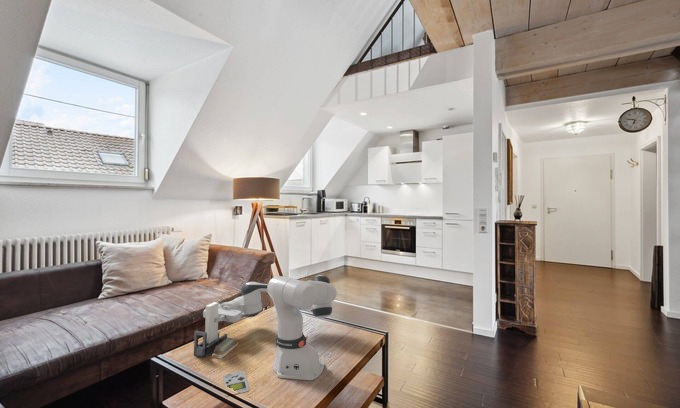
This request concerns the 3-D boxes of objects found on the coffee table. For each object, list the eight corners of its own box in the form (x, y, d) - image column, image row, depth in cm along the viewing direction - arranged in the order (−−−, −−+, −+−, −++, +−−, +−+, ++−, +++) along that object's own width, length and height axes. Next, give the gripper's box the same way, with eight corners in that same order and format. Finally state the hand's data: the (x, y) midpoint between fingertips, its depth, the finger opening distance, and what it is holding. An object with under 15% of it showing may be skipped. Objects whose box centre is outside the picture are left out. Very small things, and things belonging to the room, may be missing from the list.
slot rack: (227, 341, 155) (227, 320, 155) (204, 357, 139) (205, 333, 139) (217, 339, 157) (217, 318, 156) (193, 355, 141) (194, 331, 141)
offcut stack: (238, 345, 152) (238, 336, 152) (221, 359, 139) (221, 349, 139) (229, 343, 153) (229, 335, 153) (211, 357, 140) (211, 348, 140)
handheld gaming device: (244, 369, 130) (249, 390, 116) (244, 371, 130) (249, 391, 116) (222, 374, 126) (225, 395, 113) (222, 376, 126) (225, 397, 113)
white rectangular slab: (217, 338, 151) (218, 302, 151) (209, 343, 145) (209, 306, 145) (213, 337, 152) (214, 302, 152) (205, 342, 146) (205, 306, 146)
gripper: (246, 319, 159) (229, 329, 146) (214, 313, 165) (195, 323, 152) (246, 307, 159) (230, 316, 145) (214, 302, 165) (195, 311, 151)
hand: (212, 320), depth 149 cm, fingers closed on white rectangular slab, 2 cm apart
